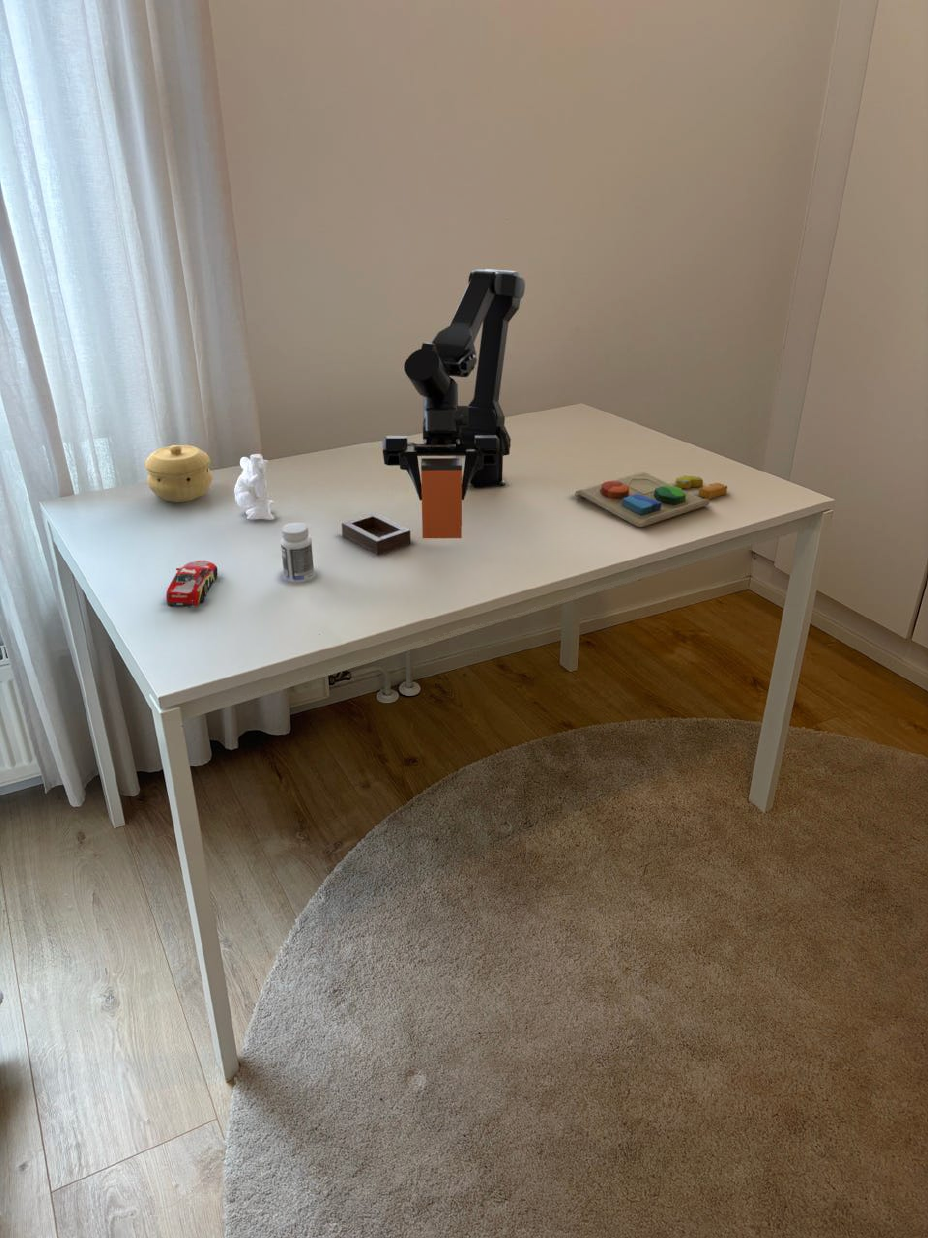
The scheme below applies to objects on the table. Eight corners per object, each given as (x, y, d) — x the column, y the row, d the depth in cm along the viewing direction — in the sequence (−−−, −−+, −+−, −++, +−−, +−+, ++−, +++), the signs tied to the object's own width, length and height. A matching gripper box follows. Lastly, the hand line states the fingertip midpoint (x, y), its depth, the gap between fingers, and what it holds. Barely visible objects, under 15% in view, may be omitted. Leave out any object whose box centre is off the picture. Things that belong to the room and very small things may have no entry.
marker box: (422, 530, 159) (421, 458, 153) (461, 529, 159) (461, 457, 153) (422, 538, 156) (421, 465, 150) (462, 538, 156) (462, 465, 150)
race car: (188, 572, 152) (185, 549, 150) (222, 572, 152) (219, 549, 150) (161, 611, 140) (157, 587, 139) (198, 612, 140) (194, 588, 138)
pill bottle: (319, 572, 152) (315, 523, 148) (305, 585, 148) (301, 535, 144) (292, 568, 153) (288, 519, 149) (278, 580, 149) (273, 531, 145)
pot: (202, 481, 187) (195, 431, 182) (224, 500, 178) (217, 448, 173) (141, 493, 181) (133, 442, 176) (161, 513, 172) (153, 460, 167)
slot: (375, 525, 168) (374, 512, 167) (410, 543, 162) (410, 530, 160) (342, 536, 164) (341, 522, 163) (377, 555, 158) (376, 541, 156)
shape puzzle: (645, 531, 166) (647, 513, 165) (571, 498, 180) (572, 481, 178) (740, 498, 180) (742, 481, 178) (664, 470, 193) (666, 454, 191)
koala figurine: (286, 519, 170) (280, 454, 164) (251, 528, 167) (244, 462, 161) (265, 504, 176) (259, 441, 170) (231, 512, 173) (223, 449, 167)
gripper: (380, 386, 149) (379, 479, 145) (500, 386, 150) (503, 478, 145) (384, 420, 160) (384, 507, 156) (496, 419, 160) (498, 506, 156)
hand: (441, 499), depth 153 cm, fingers closed on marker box, 6 cm apart
